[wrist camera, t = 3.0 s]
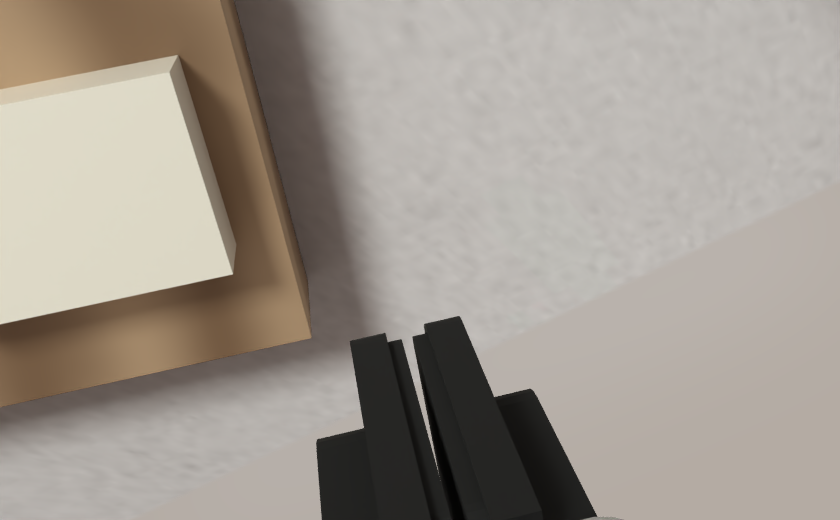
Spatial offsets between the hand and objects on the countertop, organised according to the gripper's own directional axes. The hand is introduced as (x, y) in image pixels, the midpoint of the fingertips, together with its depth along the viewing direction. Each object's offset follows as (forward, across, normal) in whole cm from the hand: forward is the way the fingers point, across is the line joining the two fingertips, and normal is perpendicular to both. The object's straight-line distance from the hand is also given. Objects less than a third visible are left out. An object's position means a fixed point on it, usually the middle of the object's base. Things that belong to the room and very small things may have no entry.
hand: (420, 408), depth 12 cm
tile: (+13, +9, 0) cm, 16 cm away
